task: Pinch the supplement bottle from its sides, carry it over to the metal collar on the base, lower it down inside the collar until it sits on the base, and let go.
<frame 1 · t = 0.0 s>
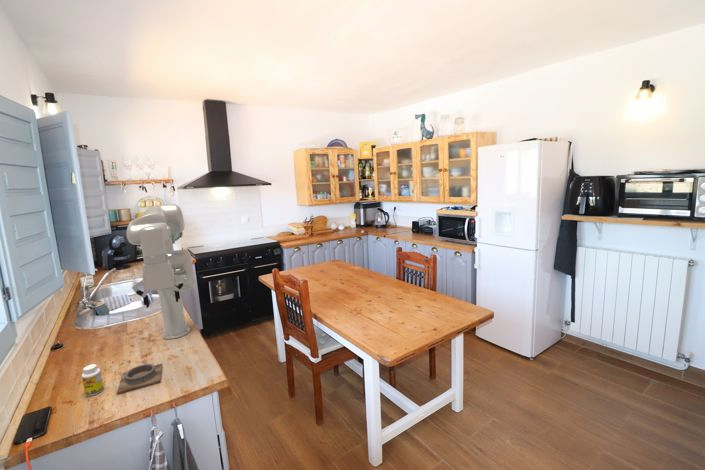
hand: (162, 303, 127), 31 cm above the counter, tool pointing down, fingers open, 9 cm apart
supplement bottle: (95, 392, 127), on the counter
holder: (141, 379, 133), on the counter
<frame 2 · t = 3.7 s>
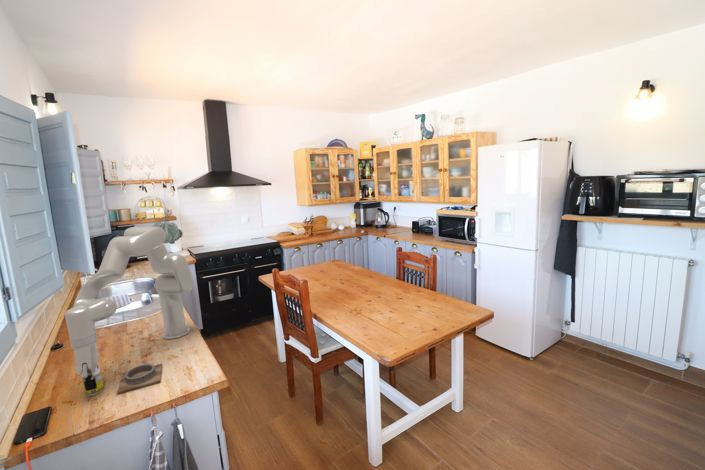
hand: (93, 384, 126), 3 cm above the counter, tool pointing down, fingers closed on supplement bottle, 5 cm apart
supplement bottle: (95, 392, 127), on the counter, touching gripper
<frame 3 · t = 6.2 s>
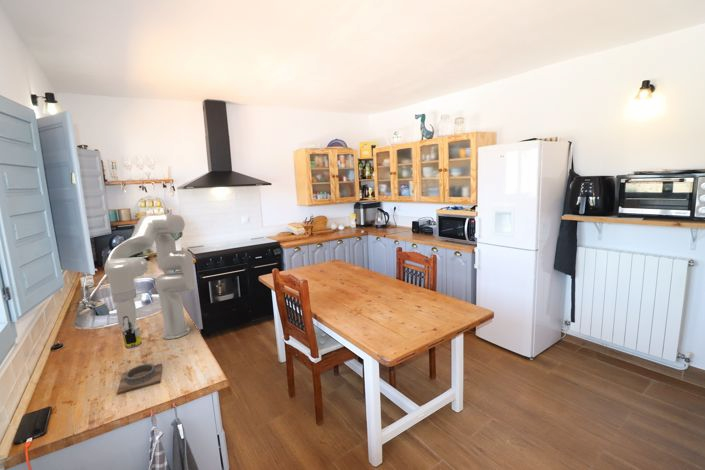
hand: (132, 339, 130), 17 cm above the counter, tool pointing down, fingers closed on supplement bottle, 5 cm apart
supplement bottle: (134, 346, 131), point 14 cm above the counter, touching gripper
when the fingers open (4 cm above the counter, at t = 8.6 s): supplement bottle stays where it is, resting on holder.
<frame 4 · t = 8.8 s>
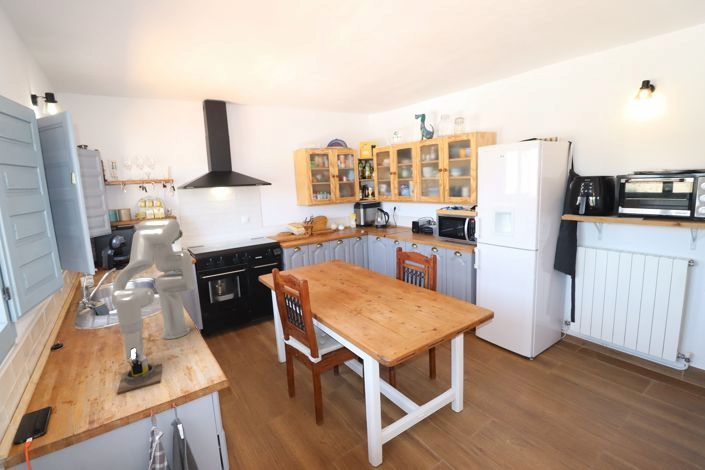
hand: (139, 368, 133), 5 cm above the counter, tool pointing down, fingers open, 7 cm apart
supplement bottle: (141, 377, 134), point 1 cm above the counter, touching holder
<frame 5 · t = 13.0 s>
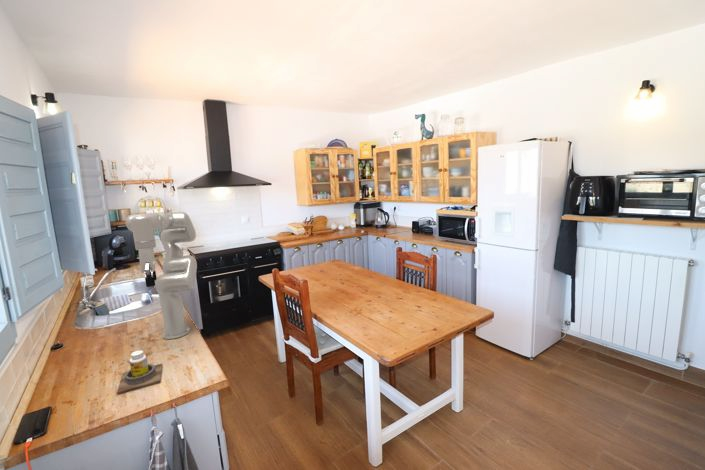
hand: (151, 283, 146), 33 cm above the counter, tool pointing down, fingers open, 9 cm apart
nothing on the counter moved.
at the end: supplement bottle 0.2 cm off-centre on the holder, point 0.8 cm above the holder's base; supplement bottle tilted 0°; the gripper is holding nothing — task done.
